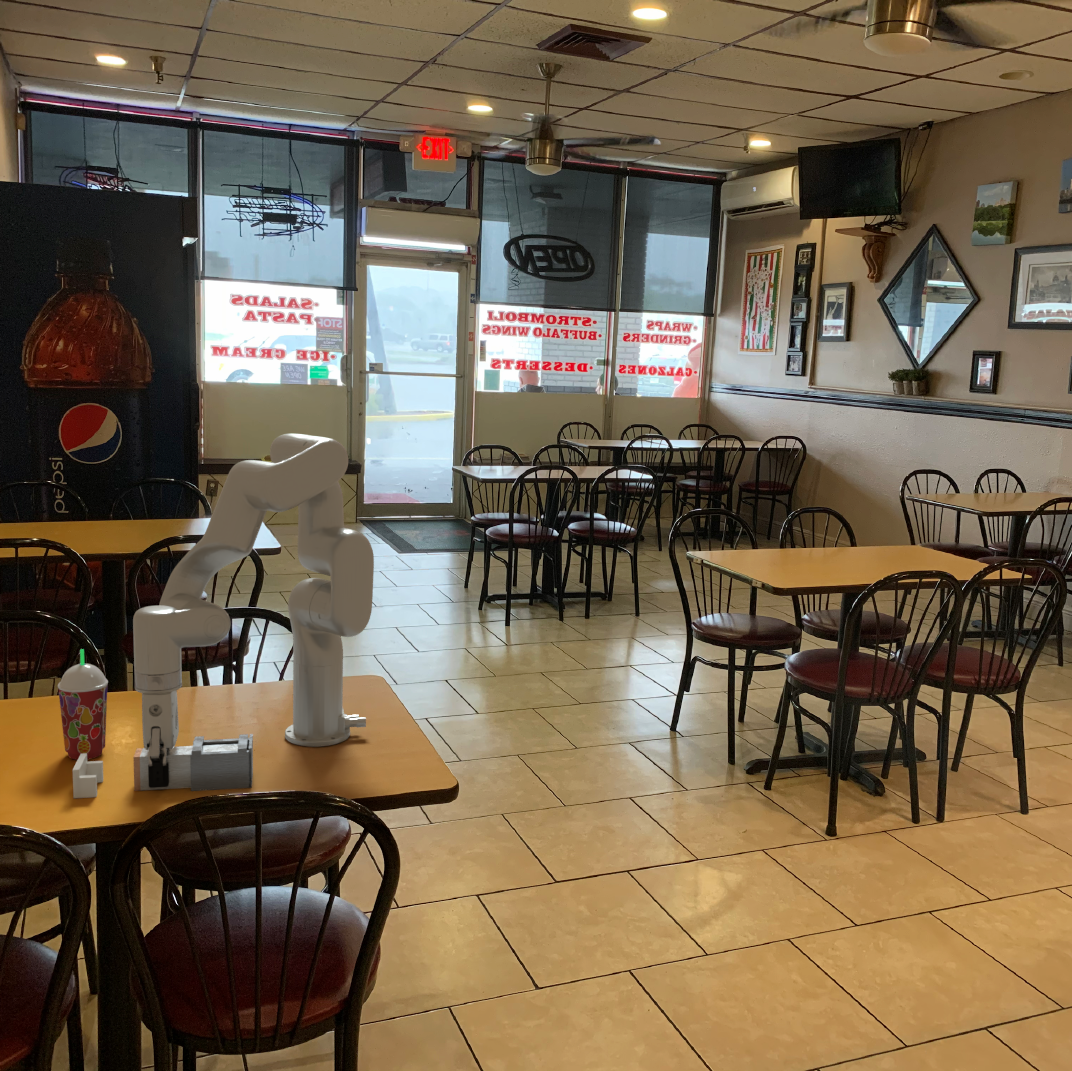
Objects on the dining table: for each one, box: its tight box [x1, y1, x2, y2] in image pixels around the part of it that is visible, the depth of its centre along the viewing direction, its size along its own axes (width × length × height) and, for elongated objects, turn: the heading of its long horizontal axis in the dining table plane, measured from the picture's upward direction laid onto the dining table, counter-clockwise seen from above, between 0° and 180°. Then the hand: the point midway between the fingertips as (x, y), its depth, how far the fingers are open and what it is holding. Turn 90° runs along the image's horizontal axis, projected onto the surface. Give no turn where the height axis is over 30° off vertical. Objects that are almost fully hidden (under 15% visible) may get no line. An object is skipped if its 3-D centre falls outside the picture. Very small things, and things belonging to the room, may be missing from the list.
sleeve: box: [190, 733, 254, 792], centre depth 178 cm, size 10×7×7 cm
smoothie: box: [57, 648, 109, 761], centre depth 186 cm, size 8×8×20 cm
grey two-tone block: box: [132, 744, 238, 792], centre depth 177 cm, size 18×4×6 cm, turn 104°
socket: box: [72, 753, 104, 799], centre depth 173 cm, size 4×7×5 cm, turn 14°
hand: (160, 779), depth 176 cm, fingers closed on grey two-tone block, 4 cm apart
